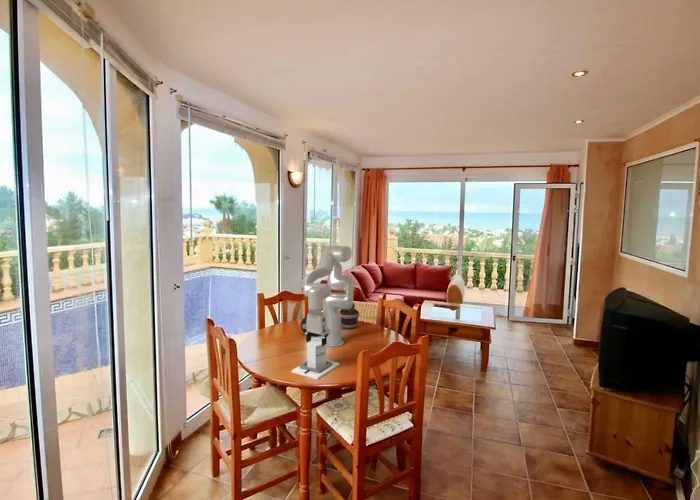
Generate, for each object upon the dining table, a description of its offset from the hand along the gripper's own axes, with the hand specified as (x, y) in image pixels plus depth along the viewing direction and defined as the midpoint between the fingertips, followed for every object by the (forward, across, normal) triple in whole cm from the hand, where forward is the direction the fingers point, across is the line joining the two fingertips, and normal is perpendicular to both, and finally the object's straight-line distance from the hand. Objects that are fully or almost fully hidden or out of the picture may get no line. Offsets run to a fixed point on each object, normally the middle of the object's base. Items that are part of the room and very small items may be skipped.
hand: (316, 343), depth 196 cm
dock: (+13, 0, +1) cm, 13 cm away
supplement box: (+12, 0, +1) cm, 13 cm away
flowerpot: (+16, +20, -66) cm, 71 cm away
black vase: (+15, +32, -42) cm, 55 cm away
